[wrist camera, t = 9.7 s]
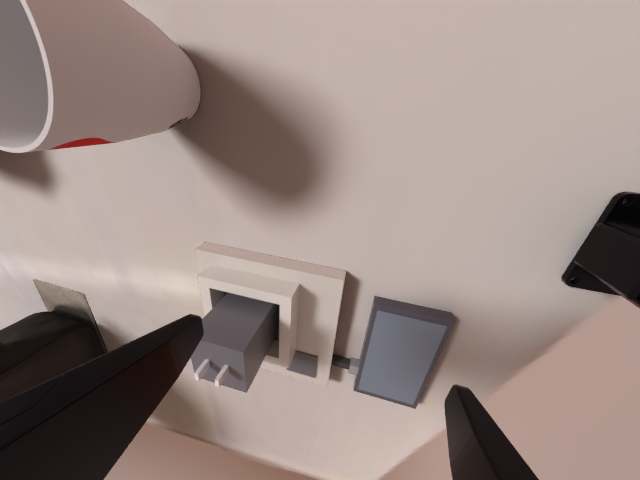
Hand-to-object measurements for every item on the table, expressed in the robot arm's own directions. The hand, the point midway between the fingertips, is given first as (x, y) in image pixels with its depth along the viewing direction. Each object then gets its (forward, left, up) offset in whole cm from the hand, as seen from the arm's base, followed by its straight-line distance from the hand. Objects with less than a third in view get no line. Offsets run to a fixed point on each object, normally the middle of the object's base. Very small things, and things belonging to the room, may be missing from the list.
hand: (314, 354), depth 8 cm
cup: (+15, -9, -12) cm, 21 cm away
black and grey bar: (-1, +15, -12) cm, 19 cm away
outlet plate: (+7, +11, -12) cm, 18 cm away
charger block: (+8, +9, -10) cm, 16 cm away
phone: (-6, +12, -12) cm, 18 cm away
